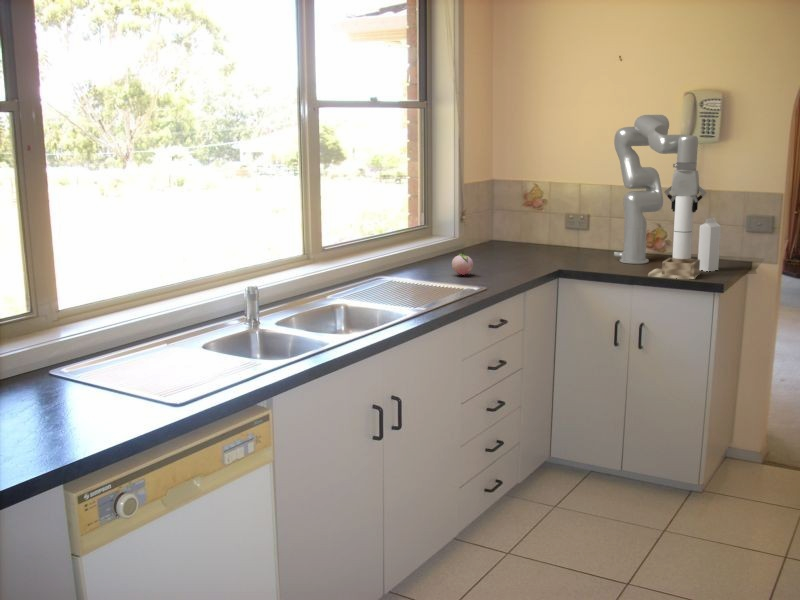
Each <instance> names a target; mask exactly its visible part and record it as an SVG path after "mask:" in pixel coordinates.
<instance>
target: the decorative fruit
mask: <svg viewBox="0 0 800 600" xmlns="http://www.w3.org/2000/svg"><path fill="white" fill-rule="evenodd" d="M451 267H452V268H451V269H452V270H453V271H454V272H455V273H456V274H459V275H460V274H462V275H464V276H466V275H467V274H469V273H470V272H471V271H472V269H473V267H474V261H473V259H472V258H471V257H470V256H468V255H465V254H464V251H463V252H462V253H459V254H458V255H456V256H454V257H453V258H452V261H451ZM465 274H466V275H465ZM462 275H461V276H462Z"/></svg>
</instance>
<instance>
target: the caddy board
mask: <svg viewBox="0 0 800 600" xmlns="http://www.w3.org/2000/svg"><path fill="white" fill-rule="evenodd" d="M699 267H700V260H698V258H697V259H695V258H690V259H676V258H673V257H668V258H667V259H665V260H663V261H662V263H661V268H654V269H652V270H651V271H649V272H648V274H647V277H650V278H665V279H676V278H677V279H676V280H678V279H679V280H689V279H694V280H695V279H696V277H697V276H698V275H699V276H700V275H701V271H700V270H699ZM699 276H698V277H699ZM698 277H697V278H698Z"/></svg>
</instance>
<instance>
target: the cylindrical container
mask: <svg viewBox="0 0 800 600" xmlns="http://www.w3.org/2000/svg"><path fill="white" fill-rule="evenodd" d="M693 202H694V199H693V196H676V198H675V211H674V220H673V221H674V223H673V240H672V242H673V244H672V258H676V259H692V249H693V248H692V245H693V226H694V212H693Z"/></svg>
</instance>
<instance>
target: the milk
mask: <svg viewBox="0 0 800 600" xmlns="http://www.w3.org/2000/svg"><path fill="white" fill-rule="evenodd" d="M721 228H722V226H721V224H719V223H718V222H717V218H716V217H712V218H711V217H710V218H706V219H705V221H704V223H702V224H700V225H699V235H698V247H697V248H698V253H697V260H700V267H699V271H701V270H703V271H702V272H706V271H708V272H707V273H709V271H711V272H716V271H715V270H718V271H719V263H720V261H719V260H720V259H719V258H720V247H721V246H720V245H721V244H720V243H721V233H722V232H721Z"/></svg>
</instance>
